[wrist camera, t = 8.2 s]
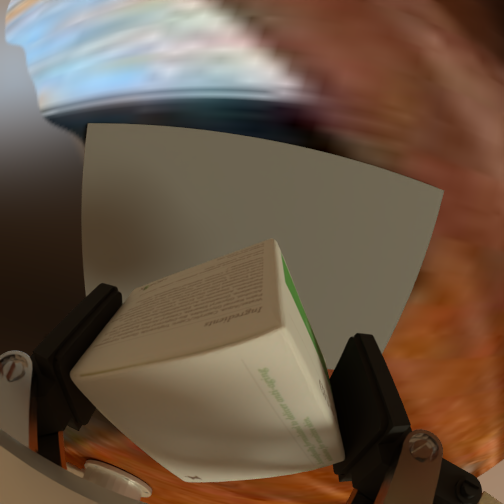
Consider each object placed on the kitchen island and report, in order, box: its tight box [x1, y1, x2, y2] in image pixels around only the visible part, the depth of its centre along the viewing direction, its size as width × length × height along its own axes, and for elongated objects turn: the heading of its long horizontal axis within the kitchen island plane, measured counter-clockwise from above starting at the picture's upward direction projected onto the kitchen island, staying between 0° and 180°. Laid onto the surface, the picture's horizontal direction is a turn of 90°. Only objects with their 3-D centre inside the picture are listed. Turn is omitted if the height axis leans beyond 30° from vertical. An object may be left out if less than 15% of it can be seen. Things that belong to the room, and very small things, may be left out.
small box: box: [70, 238, 345, 482], centre depth 8 cm, size 6×6×5 cm
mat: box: [81, 123, 444, 369], centre depth 17 cm, size 22×14×1 cm, turn 80°
